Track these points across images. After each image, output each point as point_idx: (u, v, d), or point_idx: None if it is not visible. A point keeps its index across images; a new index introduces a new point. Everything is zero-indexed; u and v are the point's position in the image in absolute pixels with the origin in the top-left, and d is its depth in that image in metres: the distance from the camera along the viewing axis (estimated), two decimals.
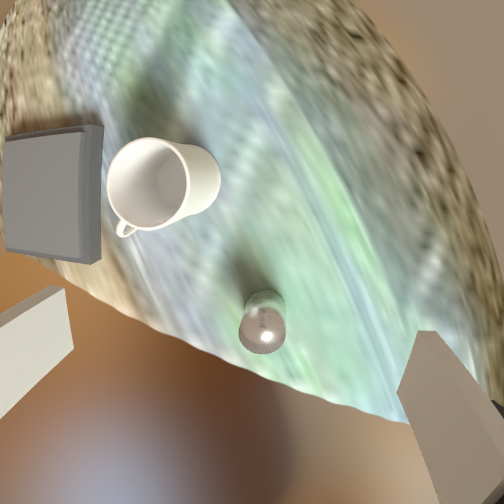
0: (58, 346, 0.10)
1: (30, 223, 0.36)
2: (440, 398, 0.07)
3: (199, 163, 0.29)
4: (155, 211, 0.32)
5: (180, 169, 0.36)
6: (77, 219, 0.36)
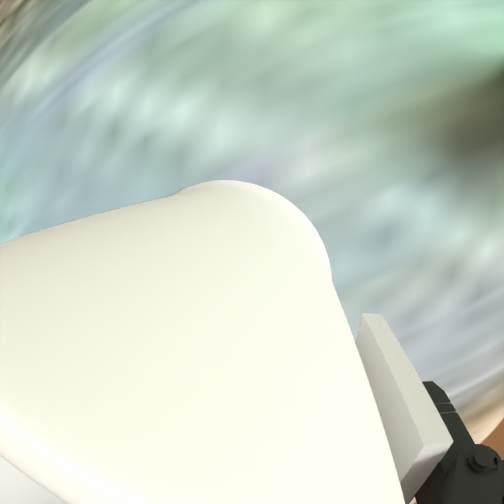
0: None
1: None
2: (375, 375, 0.08)
3: None
4: None
5: None
6: None
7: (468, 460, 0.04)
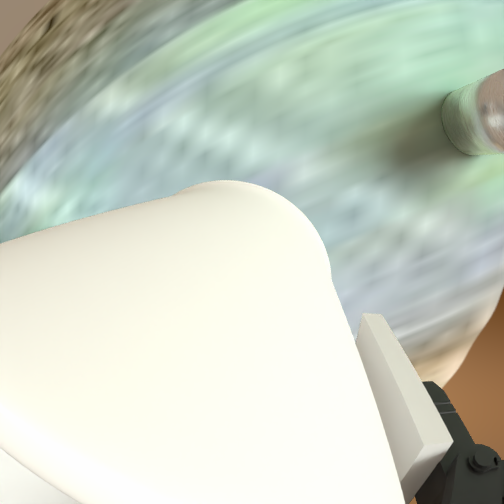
0: None
1: None
2: (375, 375, 0.08)
3: None
4: None
5: None
6: None
7: (468, 460, 0.04)
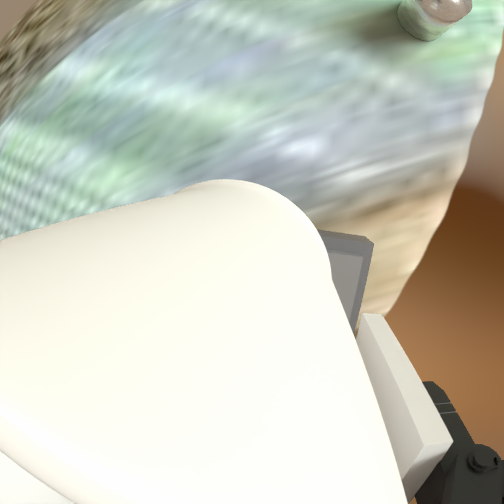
0: None
1: None
2: (375, 375, 0.08)
3: None
4: None
5: None
6: None
7: (468, 460, 0.04)
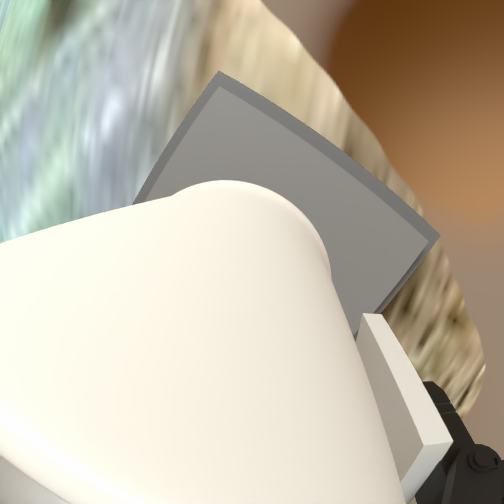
0: None
1: None
2: (375, 375, 0.08)
3: None
4: None
5: None
6: (173, 156, 0.18)
7: (468, 460, 0.04)
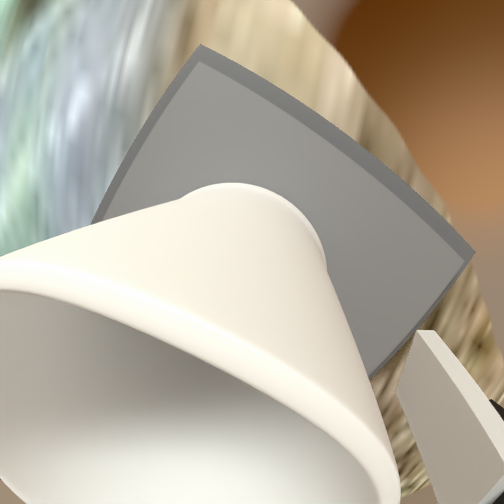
0: None
1: None
2: (438, 397, 0.07)
3: None
4: None
5: None
6: (141, 152, 0.14)
7: None
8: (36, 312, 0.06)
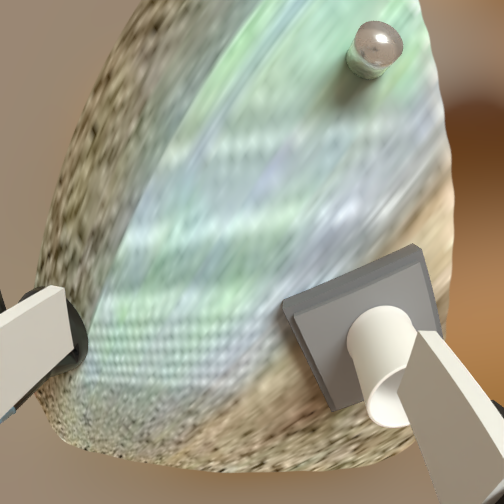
0: (58, 346, 0.10)
1: None
2: (440, 398, 0.07)
3: (409, 338, 0.27)
4: None
5: None
6: (382, 280, 0.34)
7: None
8: None
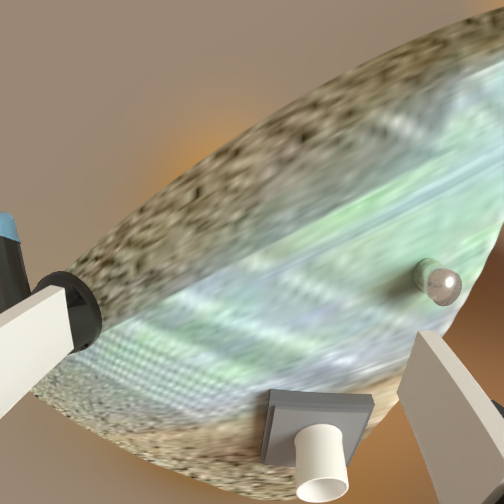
0: (58, 346, 0.10)
1: None
2: (440, 398, 0.07)
3: (339, 458, 0.40)
4: None
5: None
6: (340, 412, 0.47)
7: None
8: (326, 465, 0.39)
